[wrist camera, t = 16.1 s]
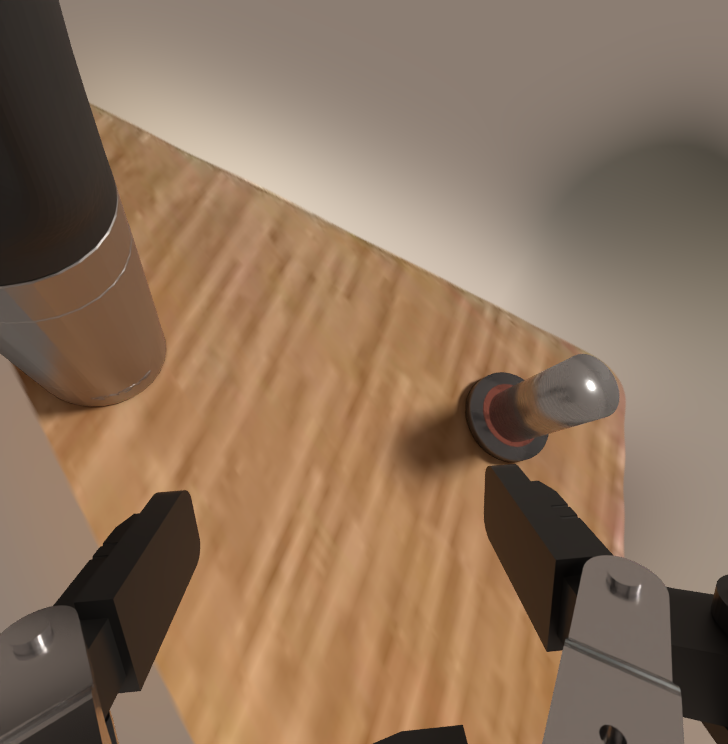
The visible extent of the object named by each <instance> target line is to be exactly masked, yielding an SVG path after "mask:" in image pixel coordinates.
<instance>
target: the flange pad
mask: <svg viewBox="0 0 728 744" xmlns="http://www.w3.org/2000/svg"><path fill="white" fill-rule="evenodd" d="M522 381H524V380H523V379H522V378H520V377H518V376H516V375H513V374H510V373H502V372H500V373H494V374H491V375H488V376H486V377H485V378H483V379H481V380H480V381H478V382H477V383H476V384H475V385H474V386H473V387H472V389H471V391H470V392H469V395H468V398H467V402H466V417H467V422H468V425H469V428H470V431H471V433H472V435H473V437H474V438H475V440H476V441H477V442H478V444H479V445H480V446H481V447H482V448H483V449H484V450H485V451H486V452H487V453H489V454H490V455H492V456H493V457H495V458H497V459H499V460H503V461H507V462H518V461H523V460H527V459H530V458H532V457H534V456H536V455H537V454H538V453H539V452H540V451H541V450H542V449H543V447H544V445H545V443H546V441H547V438H548V434H546V435H543V436H539V437H536V438H532V439H529V440H525V441H522V442H511V441H508V440H506V439H505V438H503V437H502V436H500V435H499V434H498V432H497V431H496V430H495V428H494V427H493V425H492V423H491V420H490V415H489V407H490V403H491V401H492V399H493V397H494V396H495V395H496V394H498V393H500V392H502V391H504V390H506V389H508V388H510V387H512V386H514V385H516V384H518V383H520V382H522Z"/></svg>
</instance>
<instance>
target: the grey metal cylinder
mask: <svg viewBox="0 0 728 744" xmlns="http://www.w3.org/2000/svg"><path fill="white" fill-rule="evenodd" d="M618 403H619V389H618V385H617V382H616V380H615V378H614V376H613V374H612V373H611V371H610V370H609V369H608V367H607V366H606V365H605V364H604V363H603V362H601V361H600V360H599V359H597V358H595V357H593V356H591V355H587V354H578V355H575V356H573V357H571V358H569V359H567V360H565V361H563V362H561V363H559V364H557V365H555V366H553V367H551V368H549V369H547V370H545V371H543V372H541V373H539V374H536V375H534V376H532V377H530V378H528V379H526V380H524V381H522V382H520V383H518V384H516V385H514V386H512V387H510V388H508V389H506V390H504V391H502V392H500V393H498V394H496V395H495V396H494V397H493V399H492V401H491V403H490V407H489V415H490V420H491V423H492V425H493V427H494V428H495V430H496V431H497V432H498V434H499V435H500V436H502V437H503V438H505V439H506V440H508V441H511V442H522V441H525V440H529V439H532V438H536V437H539V436H543V435H546V434H549V433H553V432H556V431H560V430H563V429H567V428H570V427H574V426H577V425H580V424H584V423H587V422H591V421H594V420H598V419H601V418H605V417H608V416H610V415H611V414H613V413H614V412H615V410H616V409H617V407H618Z"/></svg>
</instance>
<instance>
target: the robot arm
mask: <svg viewBox="0 0 728 744" xmlns="http://www.w3.org/2000/svg"><path fill="white" fill-rule="evenodd" d="M0 354H2V355H3V356H4V357H6V358H7V359H8V360H9V361H11V362H12V363H13V364H14V365H16V366H17V367H18V368H20V369H21V370H22V371H23V372H25V373H26V374H27V375H28V376H29V377H31V378H32V379H33V380H35V381H36V382H37V383H38V384H40V385H41V386H42V387H44V388H45V389H46V390H47V391H49V392H50V393H52V394H53V395H55V396H56V397H58V398H60V399H62V400H64V401H67V402H70V403H72V404H77V405H83V406H106V405H111V404H116V403H120V402H122V401H125V400H127V399H130V398H132V397H134V396H135V395H137V394H139V393H140V392H142V391H143V390H144V389H146V388H147V387H148V386H149V385H150V384H151V383H152V382H153V381H154V379H155V378H156V377H157V375H158V374H159V373H160V371H161V368H162V366H163V364H164V361H165V355H166V343H165V338H164V335H163V331H162V328H161V325H160V322H159V318H158V315H157V311H156V308H155V305H154V302H153V299H152V296H151V292H150V289H149V286H148V283H147V280H146V277H145V274H144V270H143V267H142V264H141V261H140V258H139V255H138V251H137V248H136V245H135V242H134V239H133V236H132V233H131V229H130V226H129V224H128V221H127V218H126V215H125V212H124V208H123V205H122V202H121V199H120V196H119V193H118V190H117V187H116V183H115V180H114V177H113V174H112V171H111V168H110V166H109V163H108V160H107V157H106V154H105V151H104V148H103V145H102V142H101V139H100V136H99V133H98V129H97V126H96V123H95V120H94V117H93V114H92V111H91V108H90V105H89V102H88V99H87V95H86V92H85V90H84V86H83V83H82V80H81V76H80V74H79V70H78V67H77V64H76V60H75V57H74V55H73V51H72V48H71V44H70V40H69V37H68V33H67V29H66V26H65V22H64V18H63V15H62V11H61V7H60V4H59V0H0ZM484 523H485V528H486V532H487V536H488V538H489V540H490V542H491V544H492V546H493V548H494V550H495V552H496V554H497V556H498V558H499V560H500V562H501V564H502V566H503V568H504V570H505V572H506V573H507V575H508V577H509V579H510V581H511V583H512V585H513V587H514V589H515V591H516V593H517V595H518V597H519V599H520V601H521V603H522V605H523V606H524V608H525V610H526V612H527V614H528V616H529V618H530V620H531V622H532V624H533V626H534V628H535V630H536V632H537V634H538V636H539V638H540V640H541V641H542V643H543V645H544V647H545V649H546V651H547V652H551V651H560V650H563V651H562V656H561V660H560V665H559V670H558V674H557V679H556V683H555V688H554V692H553V697H552V701H551V706H550V711H549V715H548V720H547V724H546V729H545V733H544V738H543V742H542V744H684V732H683V717H685V718H690V719H694V720H698V721H701V722H702V723H703V725H704V726H705V728H706V729H707V730H708V732H709V733H710V735H711V736H712V738H713V739H714V740H715V742H716V743H717V744H728V575H725V576H723V577H721V578H720V579H719V580H718V581H717V584H716V589H715V593H714V595H712V594H706V593H700V592H693V591H687V590H681V589H674V588H669V587H666V586H665V585H664V583H663V582H662V581H661V579H659V578H658V576H657V575H655V574H654V573H653V572H652V571H650V570H649V569H647V568H646V567H644V566H642V565H640V564H638V563H636V562H634V561H631V560H628V559H626V558H622V557H618V556H613V555H612V553H611V552H610V551H609V550H608V549H607V548H606V547H605V546H604V544H603V543H602V542H601V541H600V540H599V539H598V538H597V537H596V536H595V534H594V533H593V532H592V531H591V530H590V529H589V528H588V527H587V525H586V524H585V523H584V522H583V521H582V520H581V519H580V518H578V517H577V514H576V513H575V512H574V511H573V510H572V509H571V507H568V504H567V503H566V502H565V501H564V500H563V498H562V497H561V496H560V495H559V494H558V493H557V492H556V491H555V490H553V489H551V488H550V487H548V486H546V485H545V484H543V483H541V482H540V481H530V480H529V479H528V477H527V476H526V475H525V474H524V473H523V471H522V470H521V469H520V468H519V466H518V465H516V464H508V465H496V466H488V467H487V468H486V472H485V496H484ZM199 555H200V538H199V533H198V529H197V524H196V519H195V514H194V509H193V505H192V500H191V496H190V494H189V492H188V491H186V490H183V491H170V492H158V493H156V494H154V495H153V497H152V498H151V499H150V501H149V502H148V503H147V505H146V506H145V507H144V509H143V510H142V511H141V513H139V514H133V515H132V516H131V517H129V518H128V519H127V520H125V521H124V522H123V523H121V524H120V525H118V526H117V527H116V528H115V529H114V530H113V531H112V533H111V534H110V535H109V536H108V538H107V539H106V540H105V541H104V543H103V546H100V548H99V549H98V550H97V551H96V553H95V554H94V555H93V559H92V560H89V562H88V563H87V564H86V565H85V567H84V568H83V569H82V570H81V572H80V573H79V574H78V575H77V577H76V578H75V579H74V580H73V582H72V583H71V584H70V585H69V587H68V588H67V589H66V590H65V592H64V593H63V594H62V595H61V597H60V598H59V599H58V601H57V602H56V603H55V604H54V605H53V606H52V607H47V608H44V609H41V610H38V611H36V612H33V613H31V614H29V615H27V616H25V617H23V618H21V619H20V620H18V621H17V622H15V623H13V624H12V625H11V626H9V627H8V628H7V629H5V630H4V631H3V632H2V633H0V744H119V742H118V738H117V734H116V730H115V726H114V721H113V718H112V715H111V712H110V708H111V706H112V704H113V702H114V700H115V698H116V696H117V694H118V693H125V692H135V691H141V689H142V687H143V685H144V682H145V680H146V678H147V676H148V673H149V671H150V669H151V666H152V664H153V662H154V660H155V658H156V655H157V653H158V651H159V649H160V647H161V644H162V642H163V640H164V638H165V635H166V633H167V631H168V629H169V626H170V624H171V622H172V620H173V617H174V615H175V613H176V611H177V608H178V606H179V604H180V602H181V600H182V597H183V595H184V593H185V591H186V588H187V586H188V584H189V582H190V579H191V577H192V575H193V573H194V570H195V568H196V566H197V563H198V560H199ZM373 744H468V743H467V739H466V736H465V732H464V728H463V725H457V726H448V727H439V728H429V729H420V730H411V731H401V732H399V733H397V734H394V735H392V736H390V737H387V738H385V739H383V740H380V741H378V742H376V743H373Z"/></svg>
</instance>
